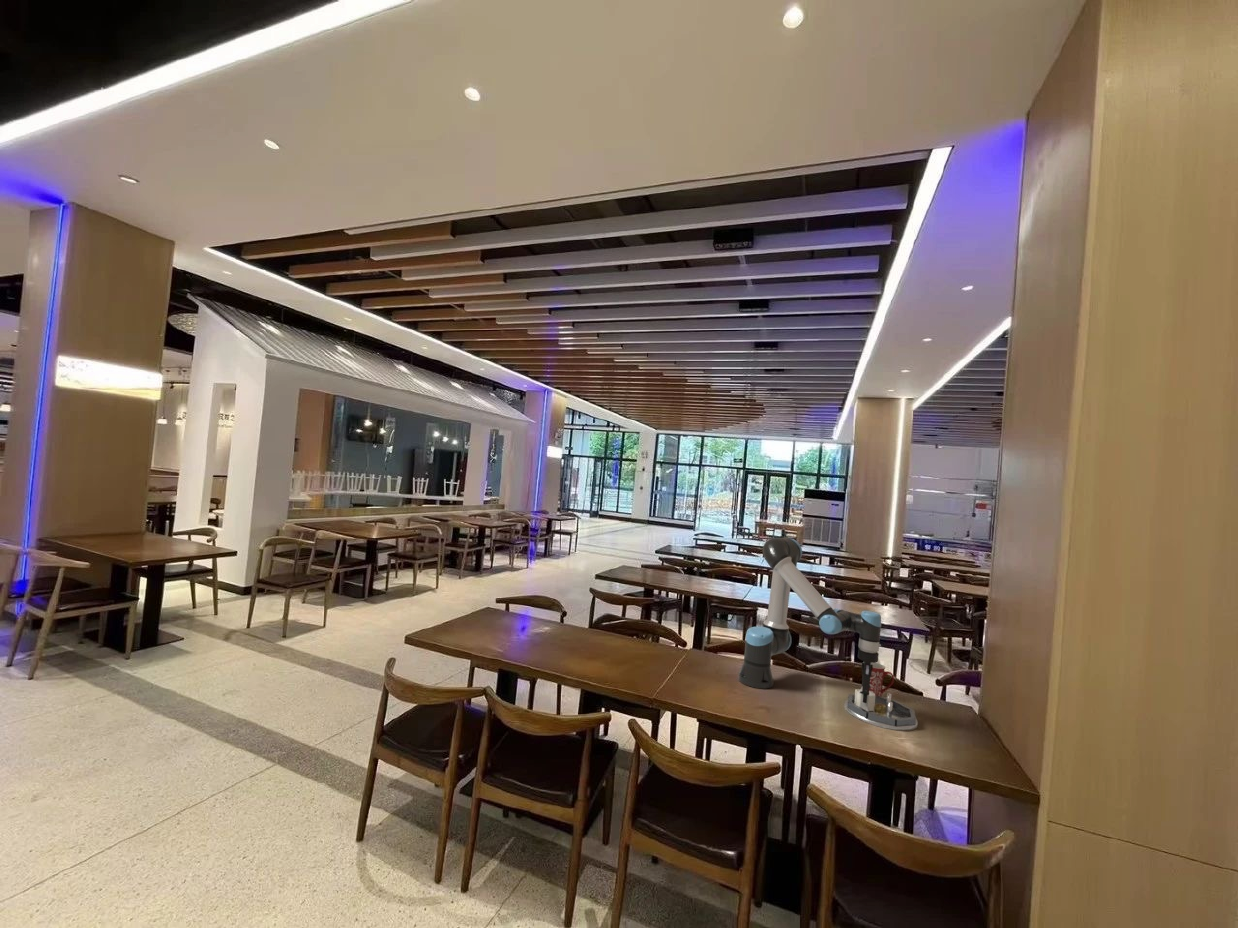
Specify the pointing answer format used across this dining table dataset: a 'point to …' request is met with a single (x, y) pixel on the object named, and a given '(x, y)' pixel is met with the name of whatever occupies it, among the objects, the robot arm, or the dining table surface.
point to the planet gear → (870, 703)
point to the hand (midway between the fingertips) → (863, 706)
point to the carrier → (884, 713)
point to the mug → (878, 679)
